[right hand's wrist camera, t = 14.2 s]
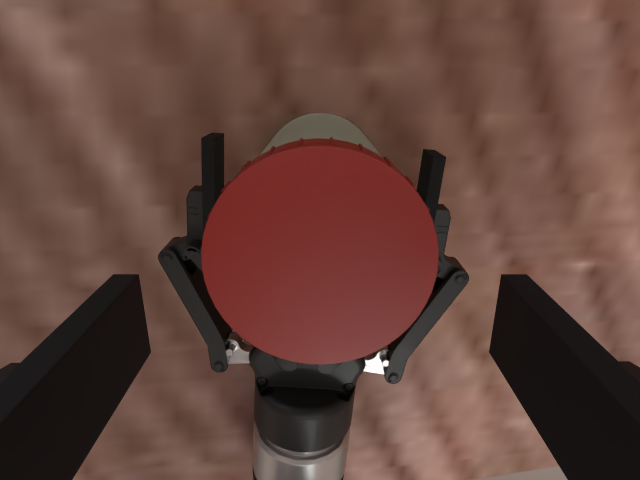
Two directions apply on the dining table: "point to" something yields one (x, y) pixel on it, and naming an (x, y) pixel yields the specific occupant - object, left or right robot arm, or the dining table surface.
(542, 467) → the dining table surface
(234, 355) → the left robot arm
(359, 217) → the lid
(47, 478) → the right robot arm
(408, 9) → the dining table surface
